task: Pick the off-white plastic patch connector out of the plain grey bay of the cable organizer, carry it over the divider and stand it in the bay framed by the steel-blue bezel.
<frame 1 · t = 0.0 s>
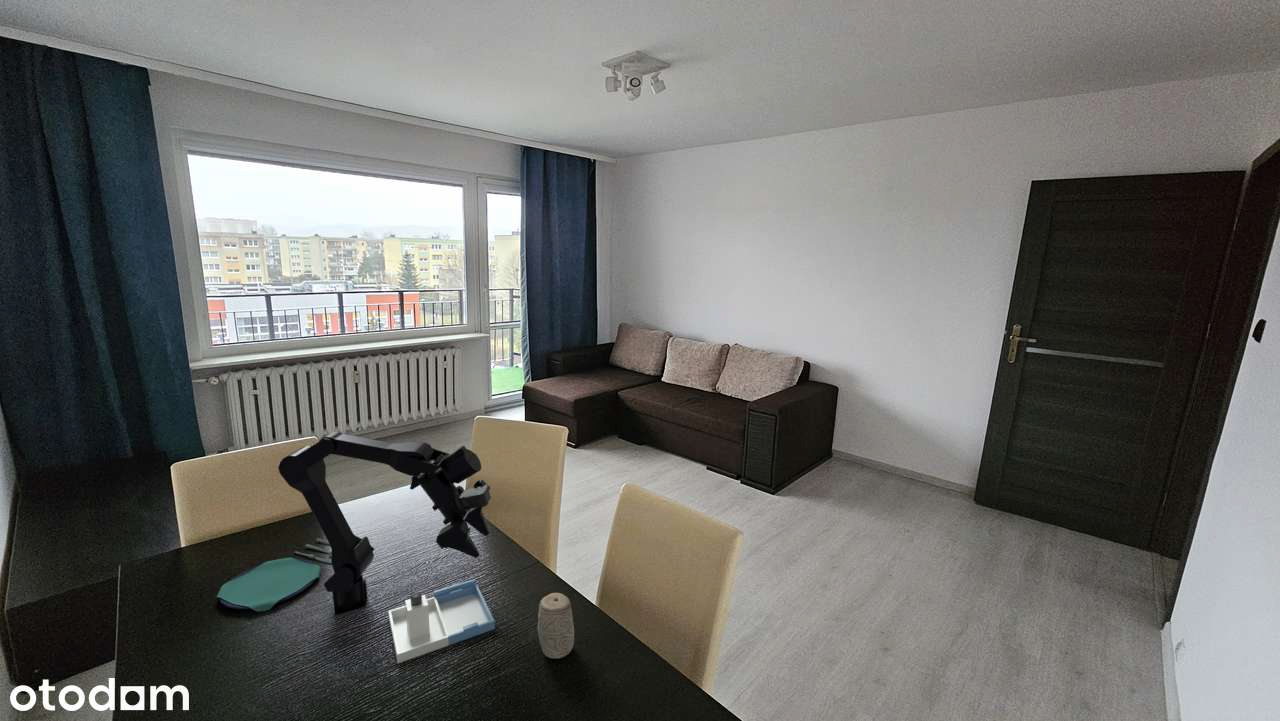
hand: (482, 545, 118), 15 cm above the table, tool tilted 35°, fingers open, 9 cm apart
patch connector: (418, 631, 111), resting on cable organizer
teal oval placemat: (291, 577, 130), on the table
carving: (556, 652, 107), on the table
cable organizer: (441, 625, 113), on the table
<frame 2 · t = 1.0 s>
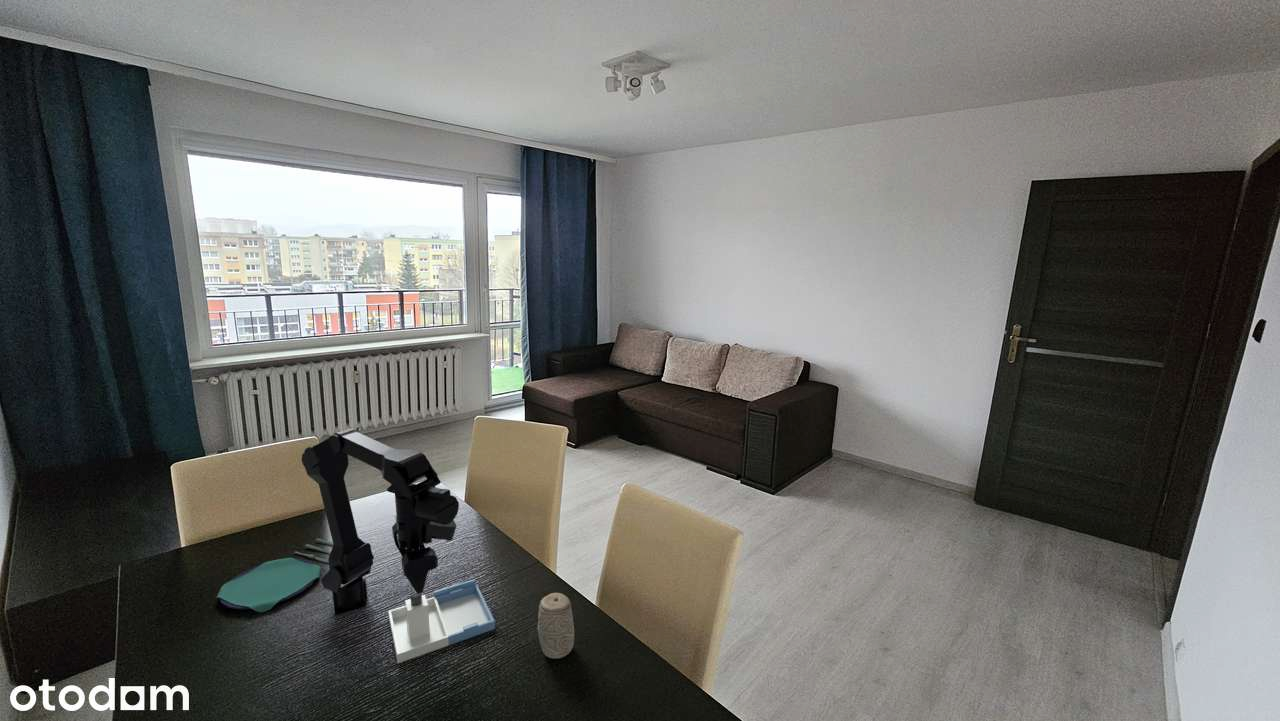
hand: (416, 580, 109), 12 cm above the table, tool pointing down, fingers open, 9 cm apart
nothing on the table moved.
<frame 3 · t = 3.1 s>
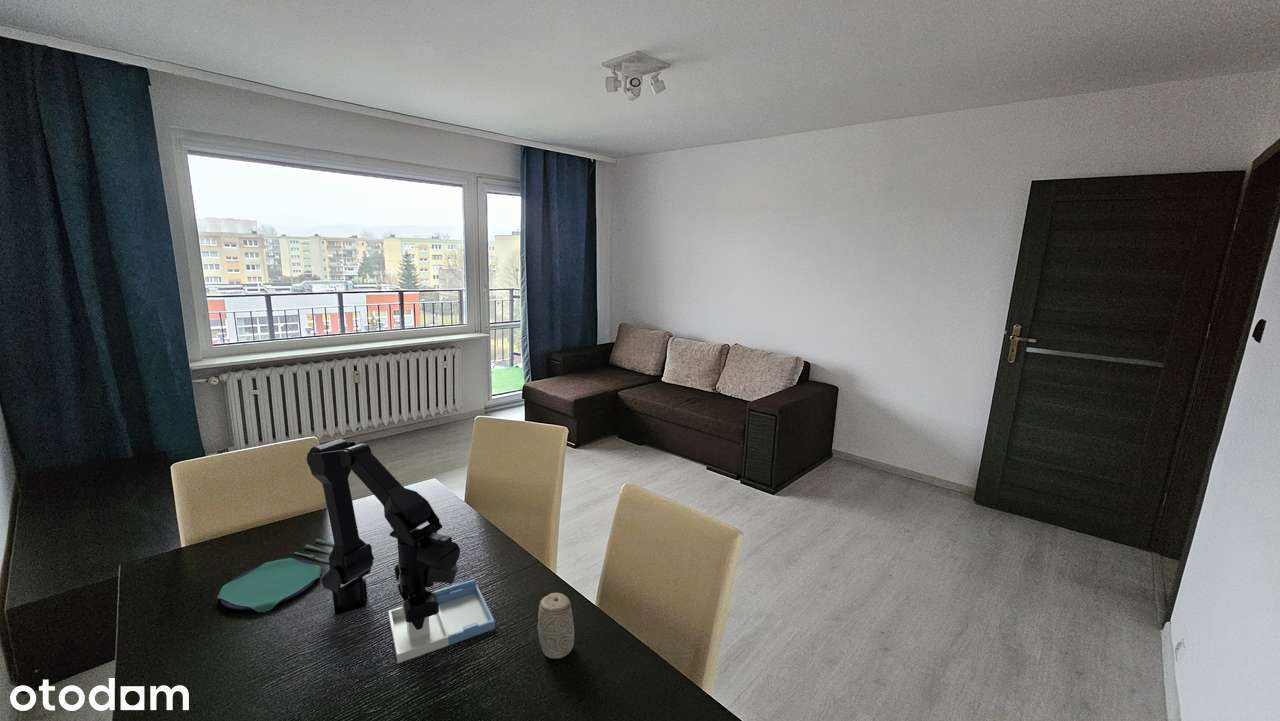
hand: (417, 622, 110), 3 cm above the table, tool pointing down, fingers closed on patch connector, 4 cm apart
patch connector: (418, 631, 111), resting on cable organizer, touching gripper
everything else where it was.
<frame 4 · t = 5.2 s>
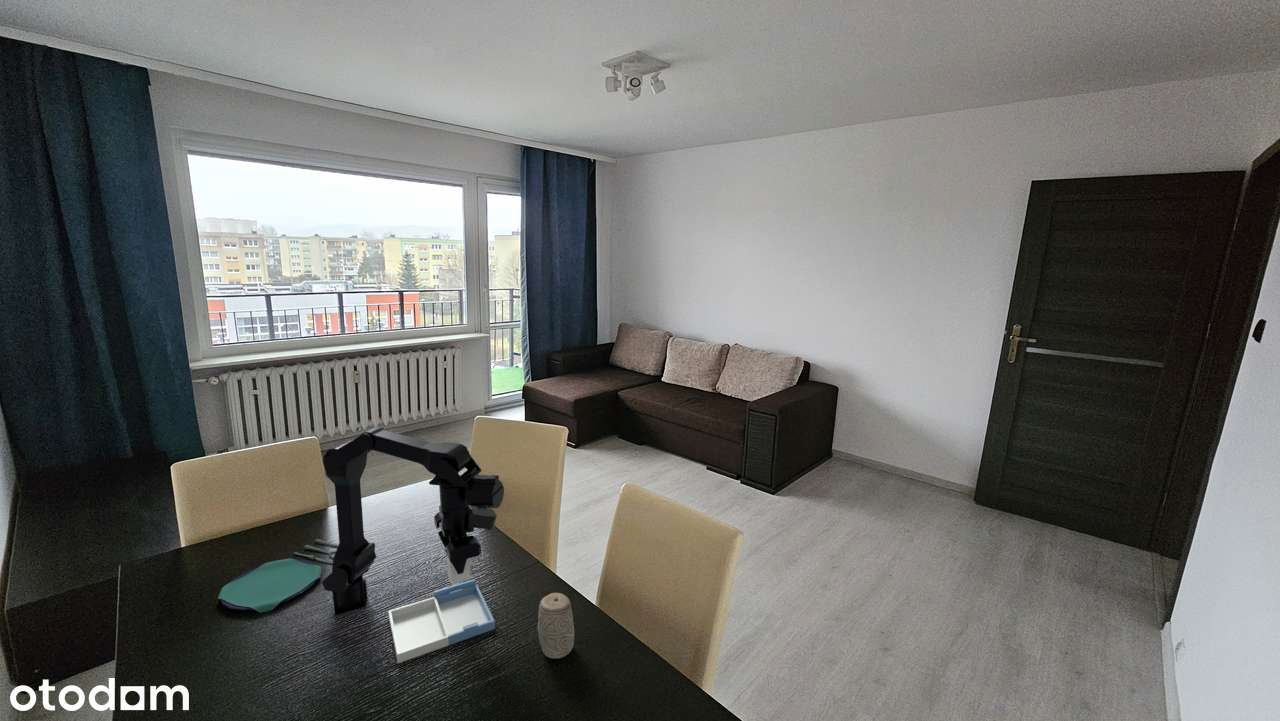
hand: (458, 568, 113), 13 cm above the table, tool pointing down, fingers closed on patch connector, 4 cm apart
patch connector: (458, 577, 113), point 11 cm above the table, touching gripper
everything else where it was.
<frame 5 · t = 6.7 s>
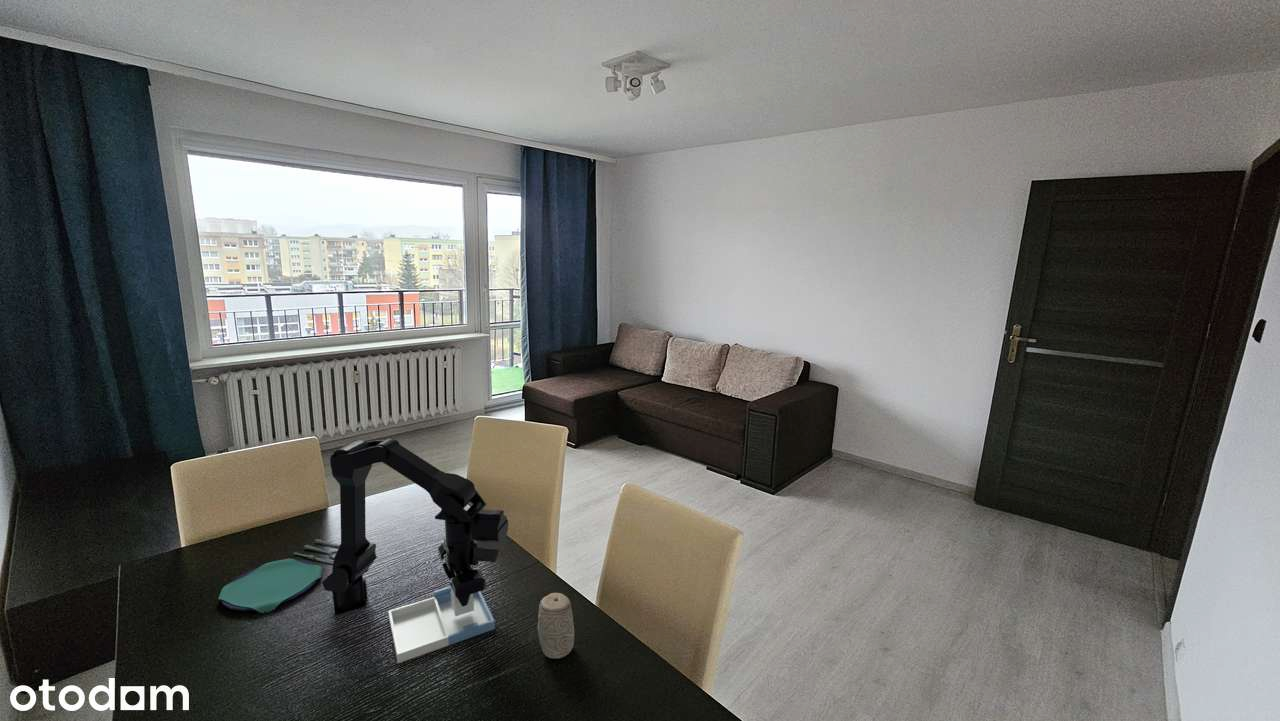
hand: (462, 600, 115), 5 cm above the table, tool pointing down, fingers closed on patch connector, 4 cm apart
patch connector: (462, 608, 115), point 2 cm above the table, touching gripper
everything else where it was.
when the fingers open (4 cm above the table, at t = 7.6 s): patch connector drops 1 cm, resting on cable organizer.
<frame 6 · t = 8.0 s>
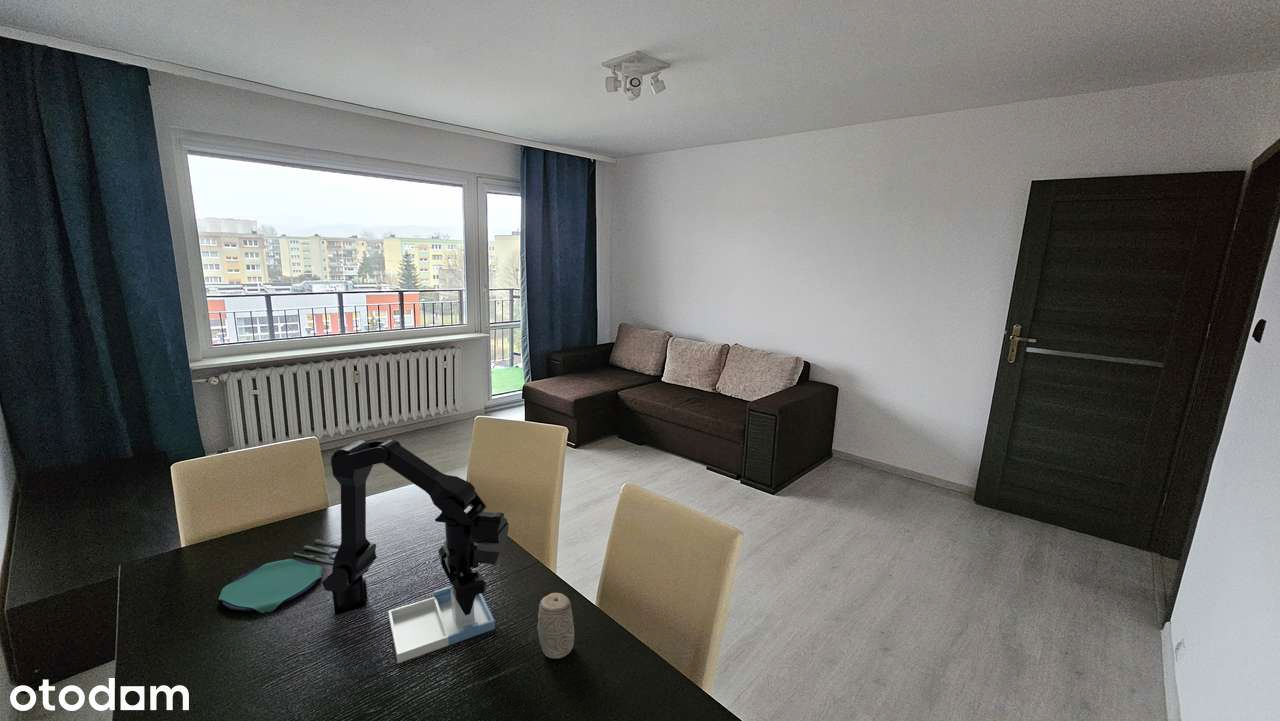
hand: (462, 602, 115), 4 cm above the table, tool pointing down, fingers open, 9 cm apart
patch connector: (463, 616, 116), resting on cable organizer
everything else where it was.
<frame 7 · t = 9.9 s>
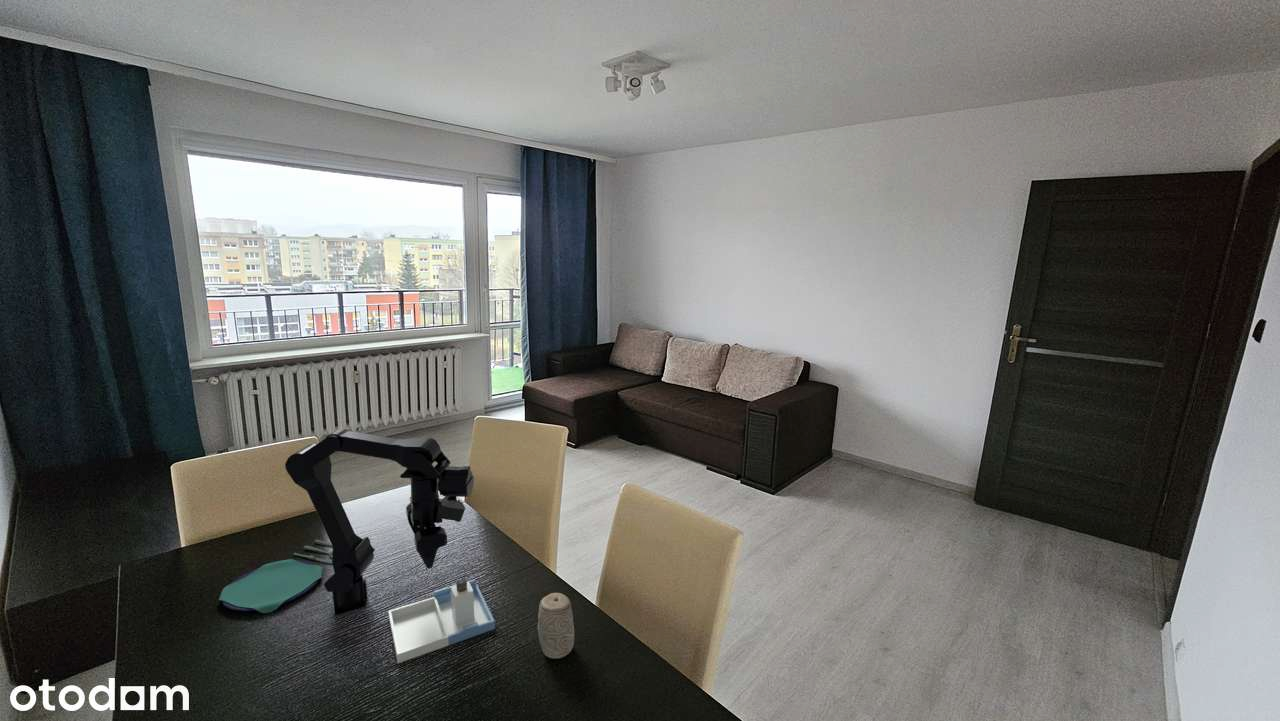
hand: (426, 557, 118), 12 cm above the table, tool pointing down, fingers open, 9 cm apart
nothing on the table moved.
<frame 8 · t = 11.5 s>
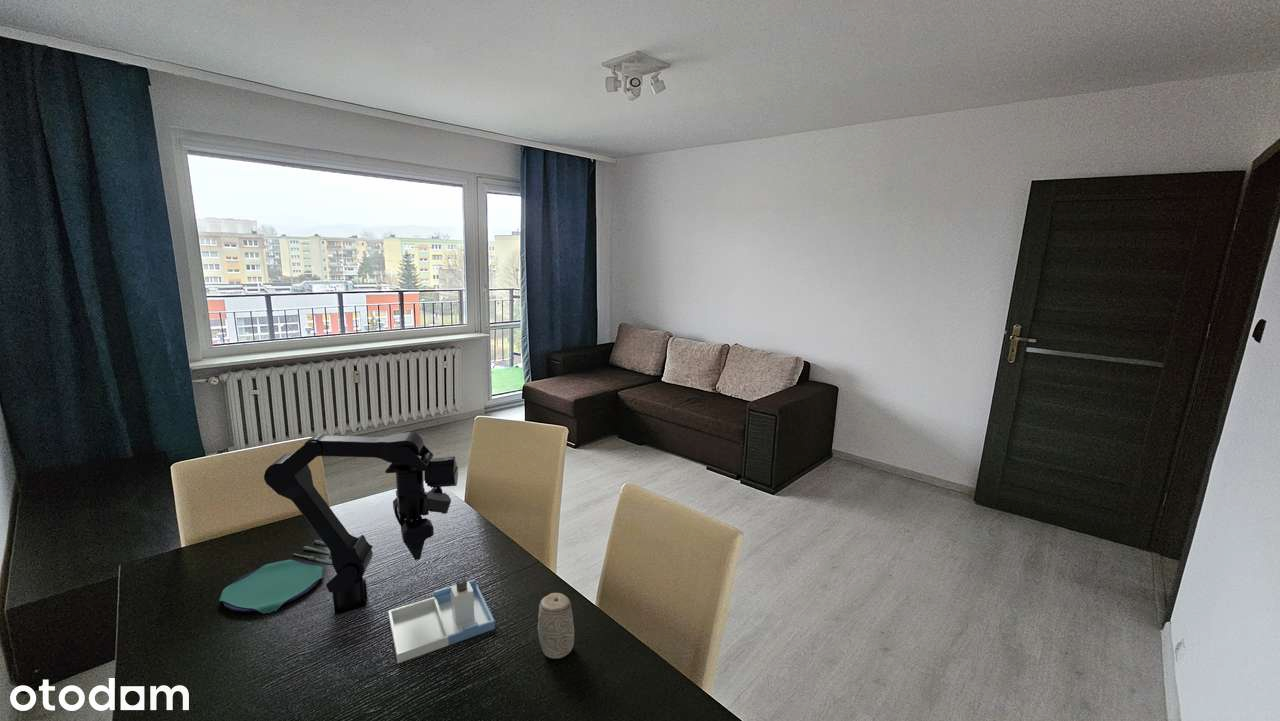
hand: (414, 549, 120), 13 cm above the table, tool pointing down, fingers open, 9 cm apart
at the end: patch connector inside the target area on the cable organizer (0.0 cm from its centre), point 0.4 cm above the cable organizer's base; patch connector tilted 0°; the gripper is holding nothing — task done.
